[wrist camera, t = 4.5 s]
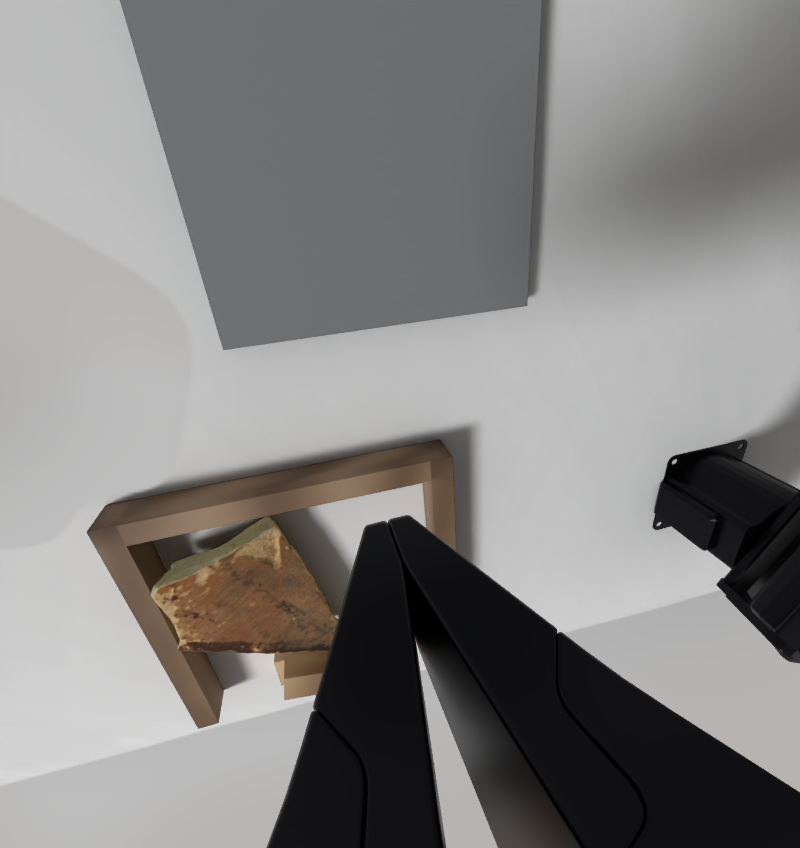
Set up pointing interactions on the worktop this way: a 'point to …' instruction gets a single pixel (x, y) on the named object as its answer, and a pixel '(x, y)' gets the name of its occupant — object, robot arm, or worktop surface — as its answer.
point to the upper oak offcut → (303, 673)
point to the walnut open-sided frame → (240, 501)
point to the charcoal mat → (347, 155)
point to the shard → (246, 597)
